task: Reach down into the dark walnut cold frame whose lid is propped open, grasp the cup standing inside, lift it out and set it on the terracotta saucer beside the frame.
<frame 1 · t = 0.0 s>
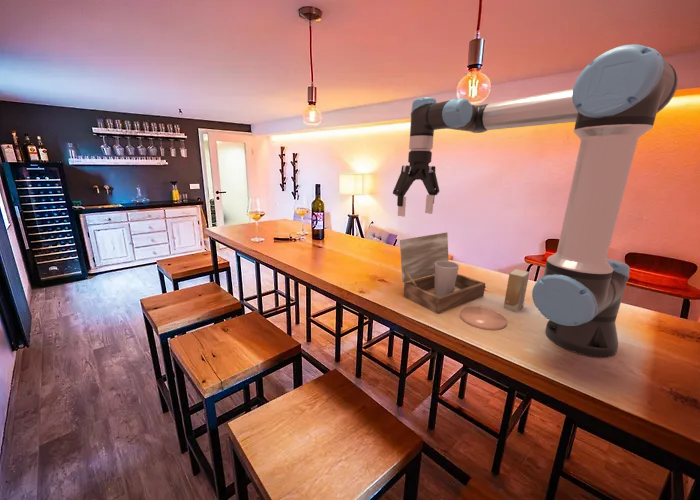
hand: (415, 214, 102), 28 cm above the table, fingers open, 13 cm apart
skincare box: (513, 307, 97), on the table
cup: (443, 296, 104), resting in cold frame
saucer: (482, 318, 89), on the table
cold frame: (443, 296, 104), on the table
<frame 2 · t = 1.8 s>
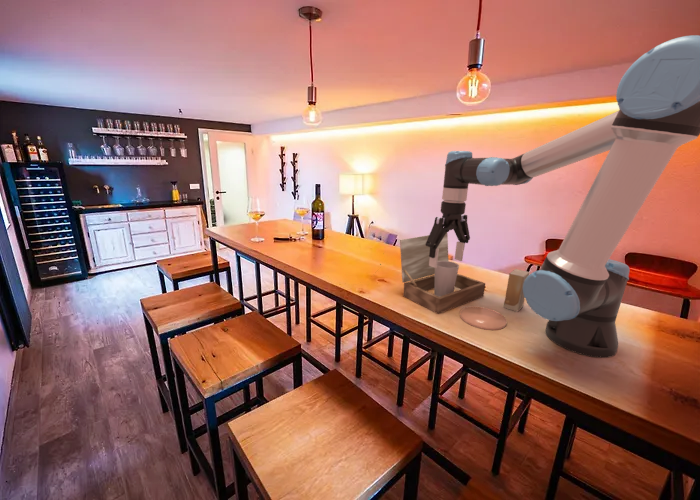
hand: (446, 263, 101), 12 cm above the table, fingers open, 13 cm apart
nothing on the table moved.
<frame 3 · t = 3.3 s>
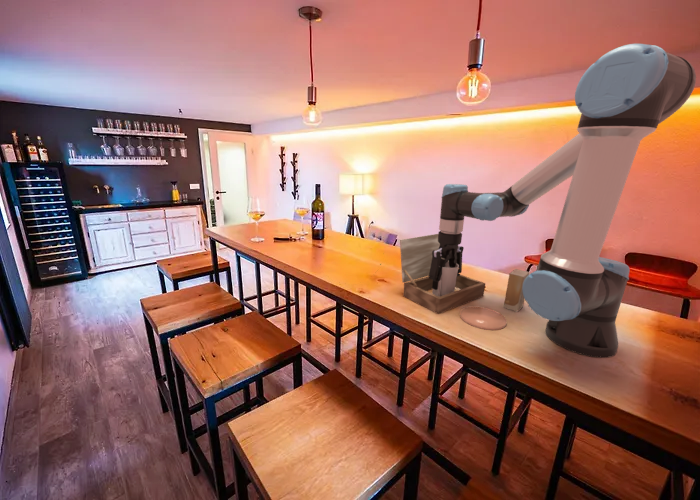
hand: (443, 294, 104), 1 cm above the table, fingers closed on cup, 7 cm apart
cup: (443, 296, 104), resting in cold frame, touching gripper
everything else where it was.
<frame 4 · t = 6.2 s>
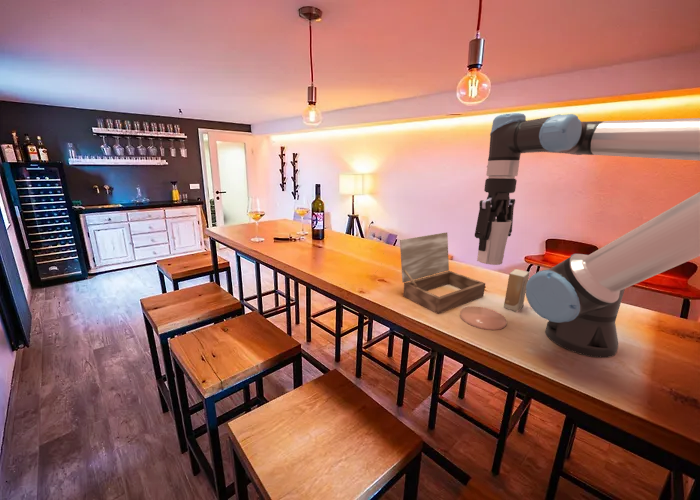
hand: (490, 259, 84), 19 cm above the table, fingers closed on cup, 7 cm apart
cup: (489, 262, 84), point 18 cm above the table, touching gripper
everything else where it was.
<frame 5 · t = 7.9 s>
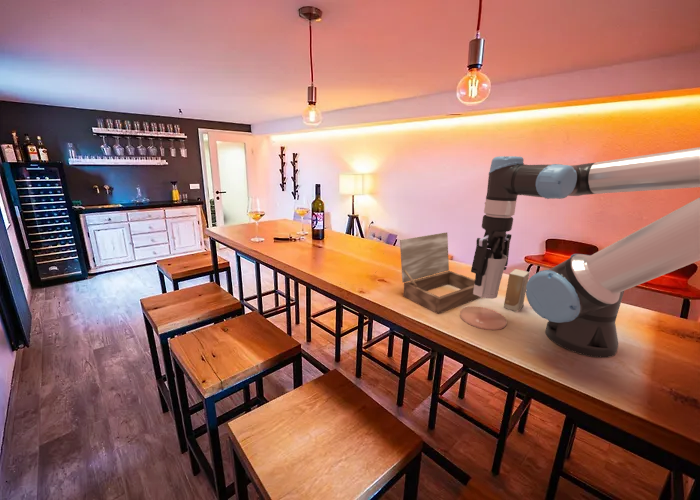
hand: (485, 292, 87), 9 cm above the table, fingers closed on cup, 7 cm apart
cup: (485, 294, 87), point 8 cm above the table, touching gripper
everything else where it was.
when the fingers open (3 cm above the table, at t = 9.2 s): cup drops 2 cm, resting on saucer.
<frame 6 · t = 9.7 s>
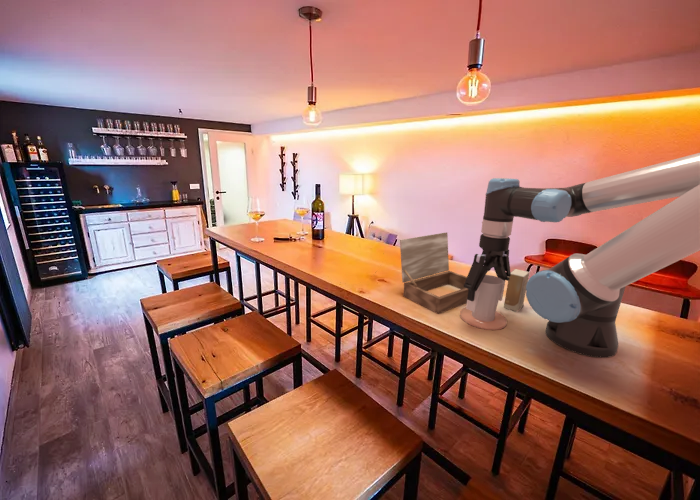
hand: (484, 304, 88), 5 cm above the table, fingers open, 13 cm apart
cup: (482, 316, 89), point 1 cm above the table, touching saucer
everything else where it was.
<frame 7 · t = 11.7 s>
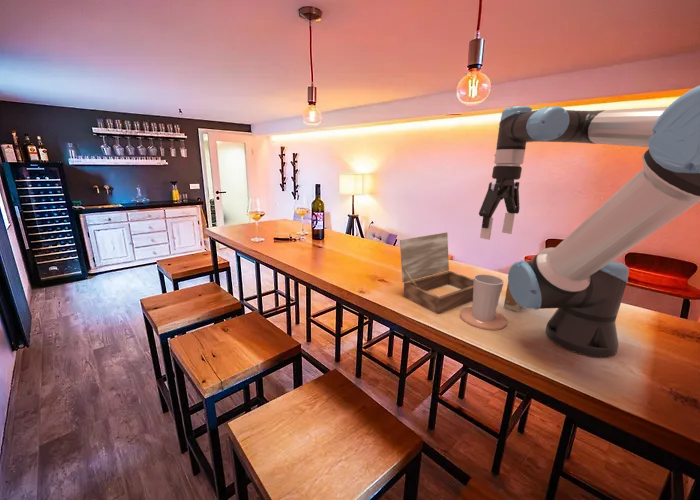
hand: (496, 235, 92), 24 cm above the table, fingers open, 13 cm apart
nothing on the table moved.
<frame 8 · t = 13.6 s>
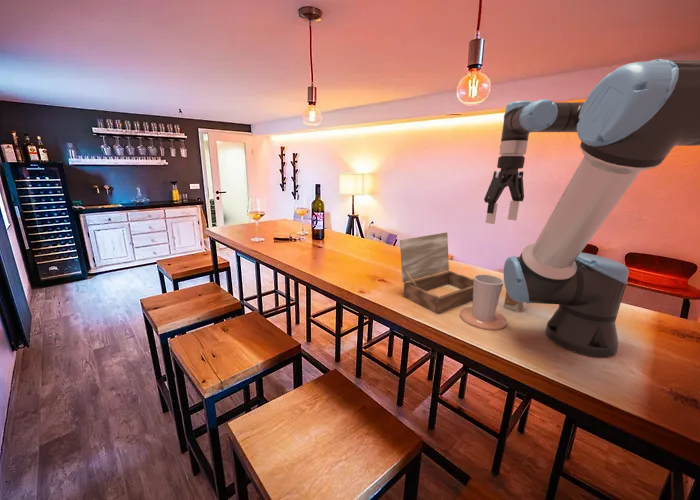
hand: (501, 221, 99), 27 cm above the table, fingers open, 13 cm apart
nothing on the table moved.
at the end: cup inside the target area on the saucer (0.0 cm from its centre), point 0.6 cm above the saucer's base; cup tilted 0°; the gripper is holding nothing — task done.
